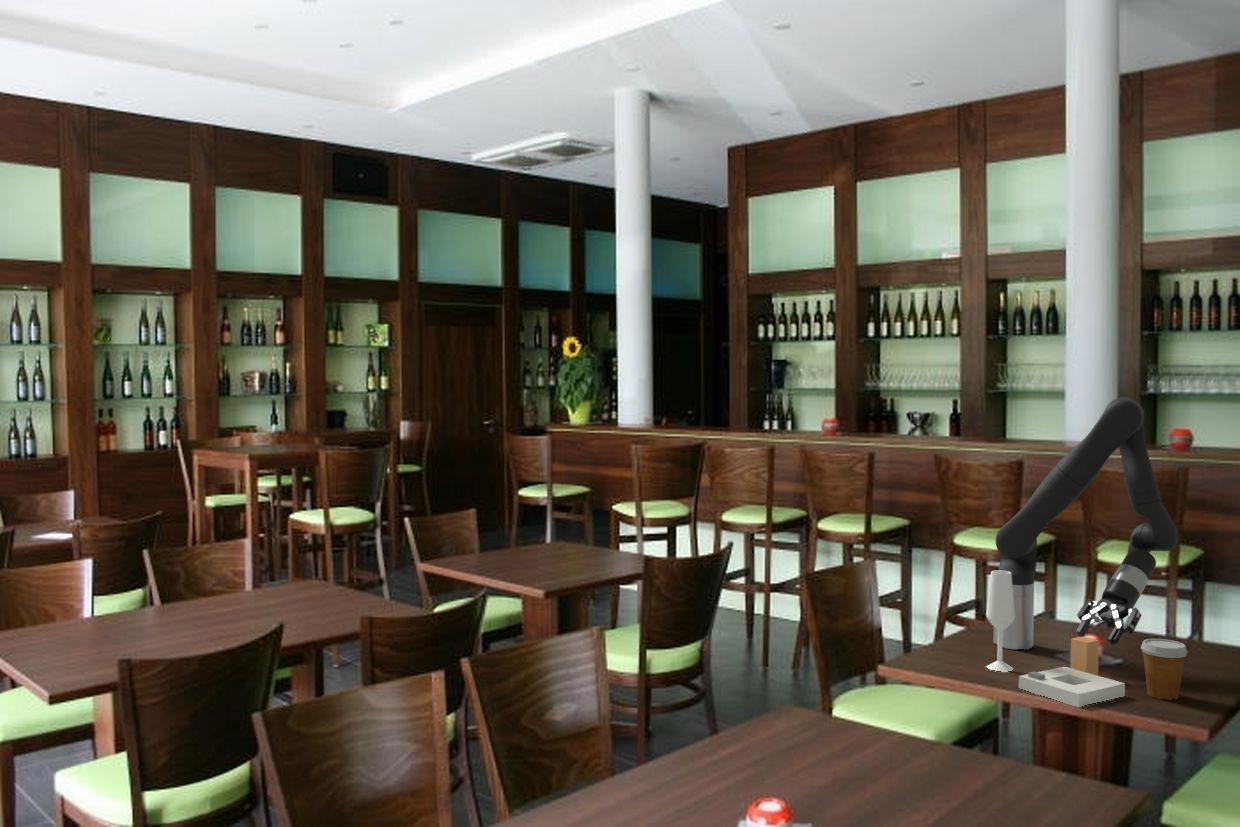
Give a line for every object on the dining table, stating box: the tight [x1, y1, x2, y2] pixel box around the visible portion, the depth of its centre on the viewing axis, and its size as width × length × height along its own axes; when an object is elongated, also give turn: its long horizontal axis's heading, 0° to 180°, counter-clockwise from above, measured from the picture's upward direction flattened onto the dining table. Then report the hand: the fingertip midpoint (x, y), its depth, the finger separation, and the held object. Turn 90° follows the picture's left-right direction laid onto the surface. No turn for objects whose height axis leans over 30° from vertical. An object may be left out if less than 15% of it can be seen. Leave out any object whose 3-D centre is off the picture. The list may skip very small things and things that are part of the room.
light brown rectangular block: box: [1069, 636, 1100, 676], centre depth 261 cm, size 4×4×9 cm
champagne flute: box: [985, 569, 1015, 673], centre depth 267 cm, size 7×7×24 cm
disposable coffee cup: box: [1140, 638, 1189, 701], centre depth 245 cm, size 10×10×12 cm
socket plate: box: [1018, 666, 1126, 708], centre depth 248 cm, size 16×16×4 cm
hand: (1095, 639), depth 262 cm, fingers open, 8 cm apart
